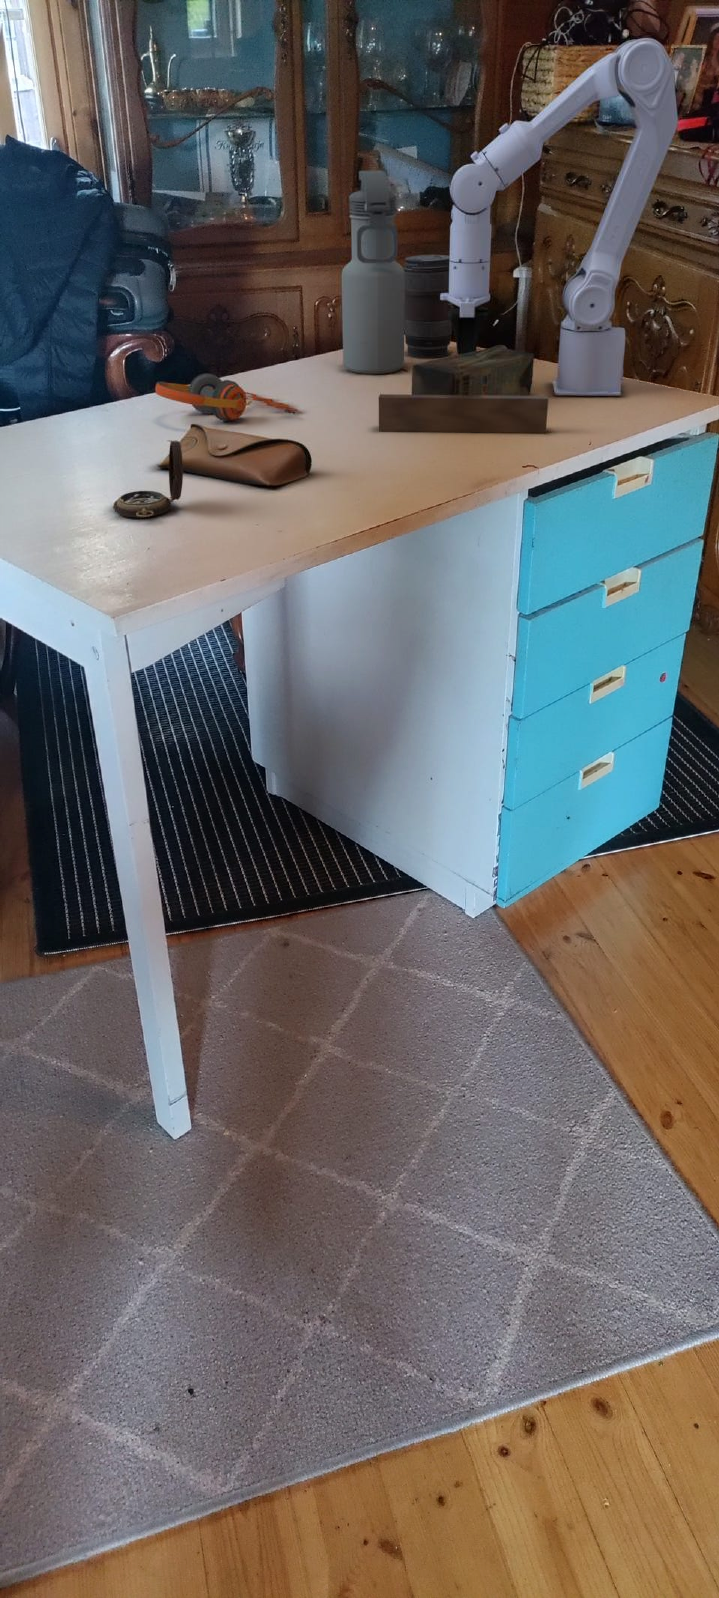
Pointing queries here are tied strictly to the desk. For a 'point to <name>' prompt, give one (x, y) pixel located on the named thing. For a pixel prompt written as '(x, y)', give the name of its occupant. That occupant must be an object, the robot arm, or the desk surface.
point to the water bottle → (373, 282)
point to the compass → (151, 500)
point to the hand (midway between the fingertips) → (466, 361)
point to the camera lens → (427, 306)
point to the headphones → (214, 396)
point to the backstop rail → (463, 413)
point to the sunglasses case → (242, 457)
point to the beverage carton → (476, 374)
